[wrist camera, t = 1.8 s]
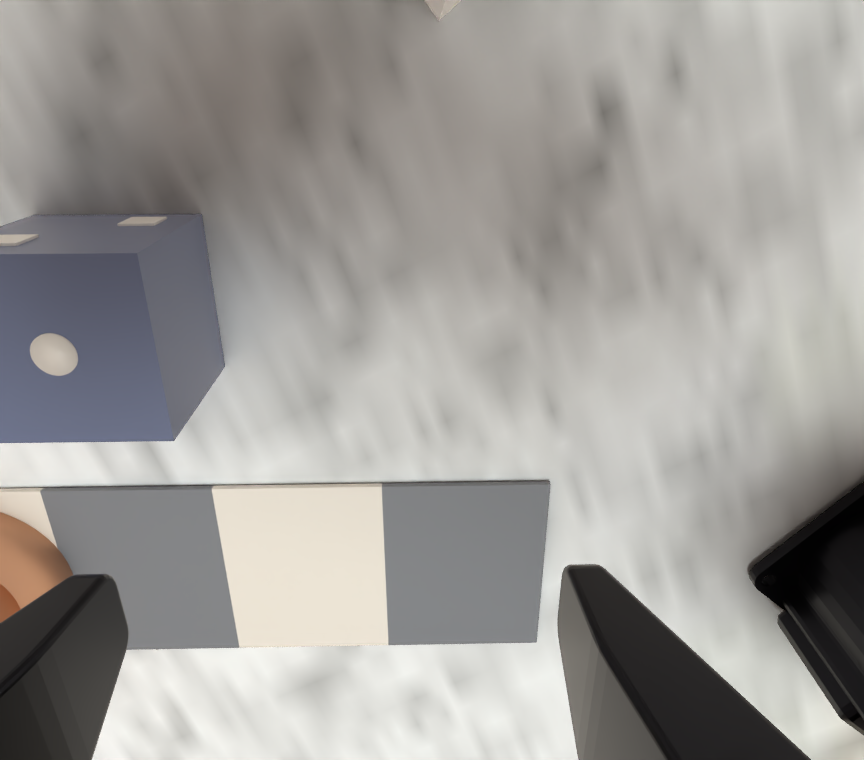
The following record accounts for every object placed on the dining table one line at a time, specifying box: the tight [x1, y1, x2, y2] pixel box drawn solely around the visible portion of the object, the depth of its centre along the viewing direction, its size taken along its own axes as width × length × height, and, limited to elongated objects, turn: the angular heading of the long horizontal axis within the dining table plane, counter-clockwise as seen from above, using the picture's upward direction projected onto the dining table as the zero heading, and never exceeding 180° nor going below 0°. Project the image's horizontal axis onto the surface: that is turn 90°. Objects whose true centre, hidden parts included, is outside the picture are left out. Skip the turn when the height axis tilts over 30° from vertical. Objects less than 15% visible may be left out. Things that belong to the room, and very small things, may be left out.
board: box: [0, 481, 550, 650], centre depth 22 cm, size 28×7×1 cm, turn 90°
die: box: [0, 214, 225, 443], centre depth 16 cm, size 4×5×5 cm
